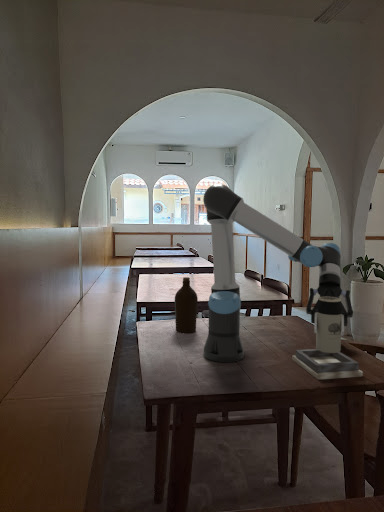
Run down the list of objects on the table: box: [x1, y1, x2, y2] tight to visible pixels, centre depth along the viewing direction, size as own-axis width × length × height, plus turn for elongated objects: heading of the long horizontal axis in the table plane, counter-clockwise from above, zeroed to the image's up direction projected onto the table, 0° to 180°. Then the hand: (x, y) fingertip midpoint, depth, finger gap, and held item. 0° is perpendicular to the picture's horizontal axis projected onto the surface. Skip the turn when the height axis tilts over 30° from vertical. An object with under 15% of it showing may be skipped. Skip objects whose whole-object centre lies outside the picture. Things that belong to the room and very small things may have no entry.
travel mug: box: [315, 296, 342, 353], centre depth 125 cm, size 8×8×18 cm
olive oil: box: [174, 276, 198, 335], centre depth 168 cm, size 11×11×25 cm
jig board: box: [291, 348, 364, 380], centre depth 126 cm, size 16×18×4 cm
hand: (328, 332), depth 122 cm, fingers closed on travel mug, 8 cm apart
